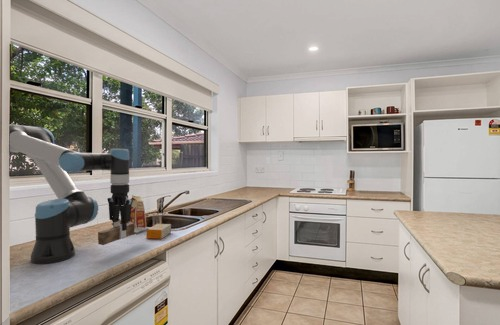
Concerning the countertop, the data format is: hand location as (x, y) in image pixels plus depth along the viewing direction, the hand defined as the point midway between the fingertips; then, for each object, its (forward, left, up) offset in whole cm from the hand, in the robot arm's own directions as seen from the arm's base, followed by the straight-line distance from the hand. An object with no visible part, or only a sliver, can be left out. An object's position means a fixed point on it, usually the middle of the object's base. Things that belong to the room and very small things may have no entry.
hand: (119, 236), depth 128 cm
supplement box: (+20, 0, -4) cm, 20 cm away
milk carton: (+30, +24, -6) cm, 39 cm away
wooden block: (+2, 0, 0) cm, 2 cm away
